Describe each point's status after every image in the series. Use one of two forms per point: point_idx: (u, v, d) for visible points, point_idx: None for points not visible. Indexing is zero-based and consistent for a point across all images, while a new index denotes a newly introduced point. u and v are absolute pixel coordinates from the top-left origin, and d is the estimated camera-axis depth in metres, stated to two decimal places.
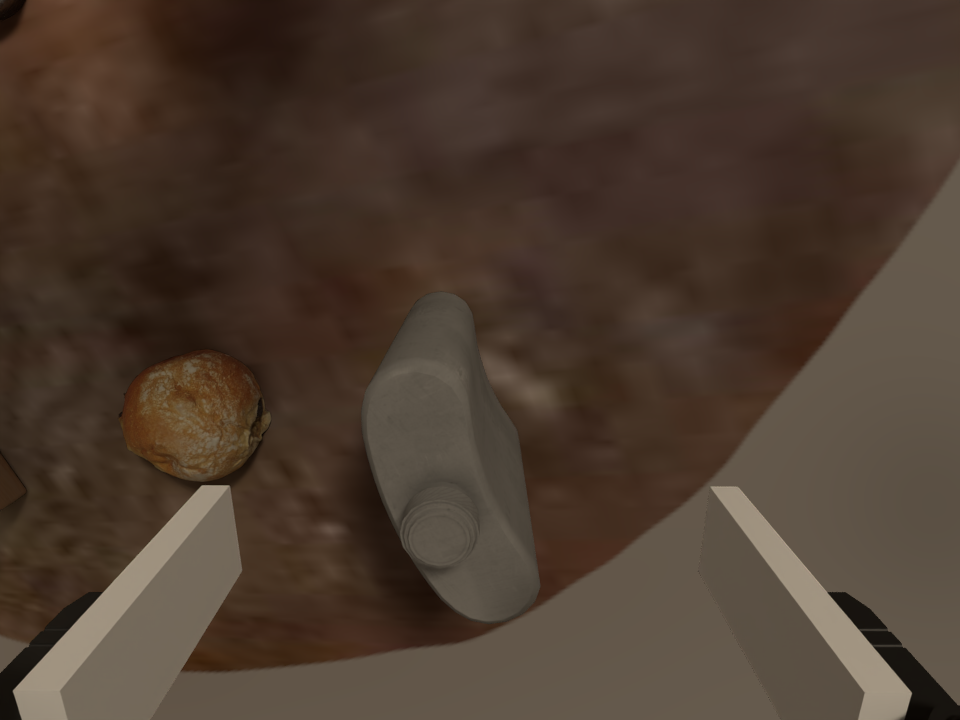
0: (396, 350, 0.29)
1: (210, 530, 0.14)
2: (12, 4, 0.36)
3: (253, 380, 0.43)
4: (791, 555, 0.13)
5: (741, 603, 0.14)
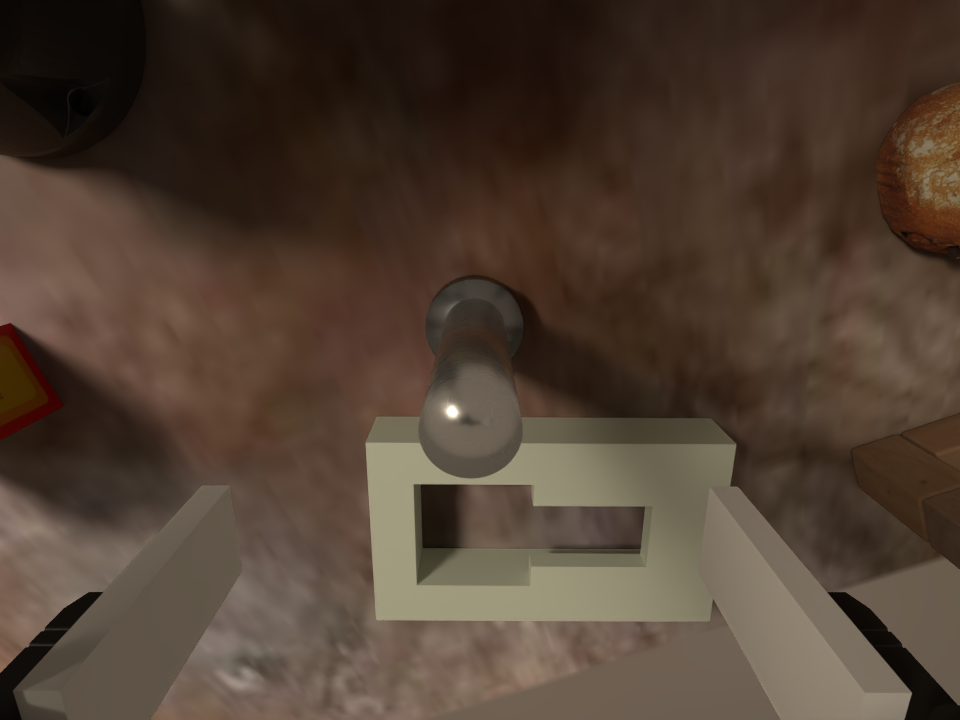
0: None
1: (210, 530, 0.14)
2: (511, 293, 0.38)
3: (937, 90, 0.34)
4: (791, 555, 0.13)
5: (740, 603, 0.14)
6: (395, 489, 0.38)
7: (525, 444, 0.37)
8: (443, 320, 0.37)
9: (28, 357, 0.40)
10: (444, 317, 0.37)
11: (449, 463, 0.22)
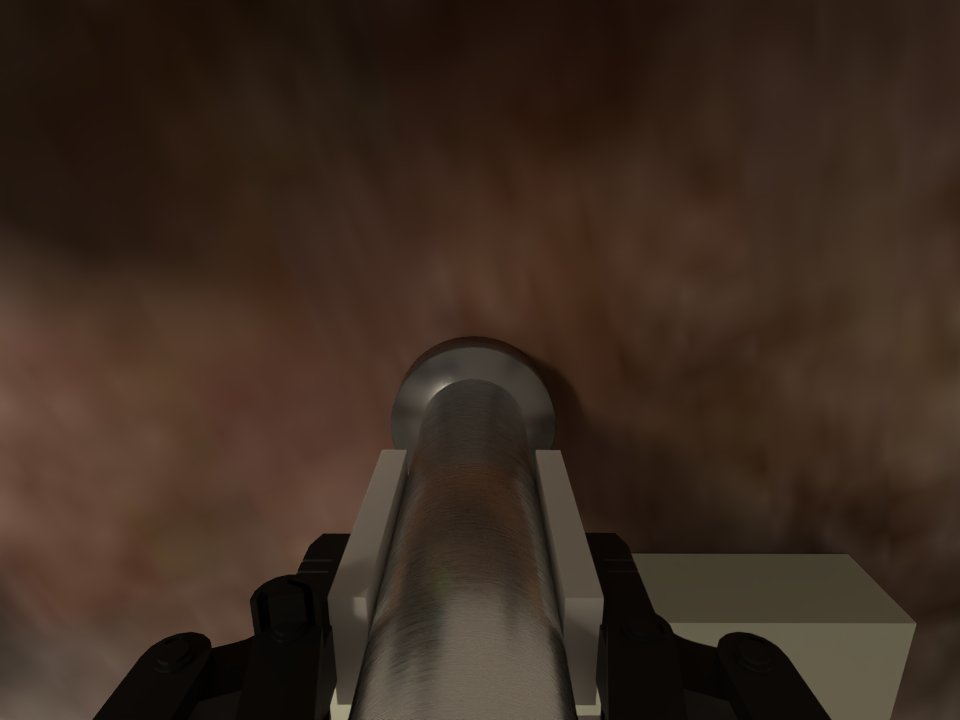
0: None
1: (401, 486, 0.16)
2: (534, 367, 0.23)
3: None
4: (571, 502, 0.15)
5: None
6: None
7: None
8: (421, 415, 0.22)
9: None
10: (422, 410, 0.22)
11: None
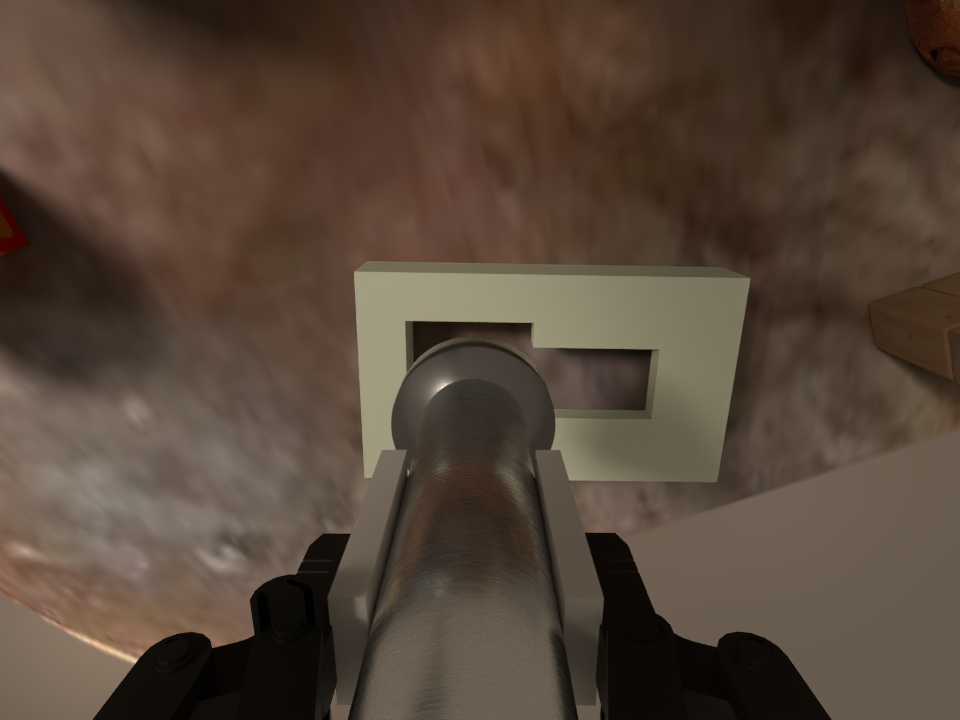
0: None
1: (401, 487, 0.16)
2: (534, 367, 0.23)
3: None
4: (571, 502, 0.15)
5: None
6: (386, 326, 0.36)
7: (525, 275, 0.35)
8: (421, 414, 0.22)
9: None
10: (422, 409, 0.22)
11: None
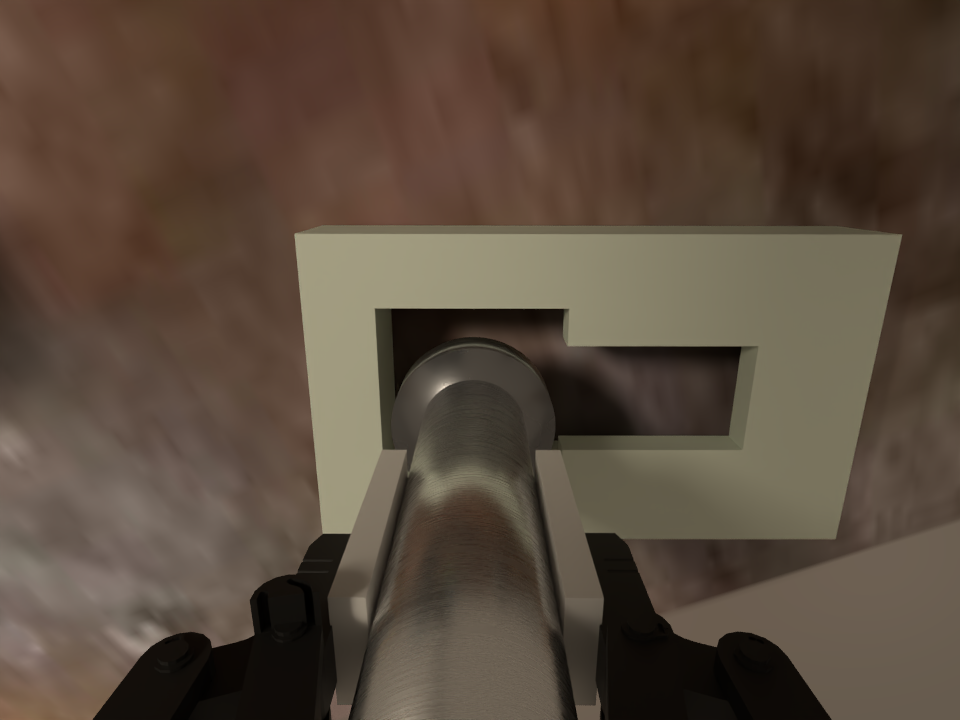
0: None
1: (401, 486, 0.16)
2: (534, 368, 0.23)
3: None
4: (571, 502, 0.15)
5: None
6: (346, 318, 0.24)
7: (556, 236, 0.23)
8: (421, 415, 0.22)
9: None
10: (422, 411, 0.22)
11: None
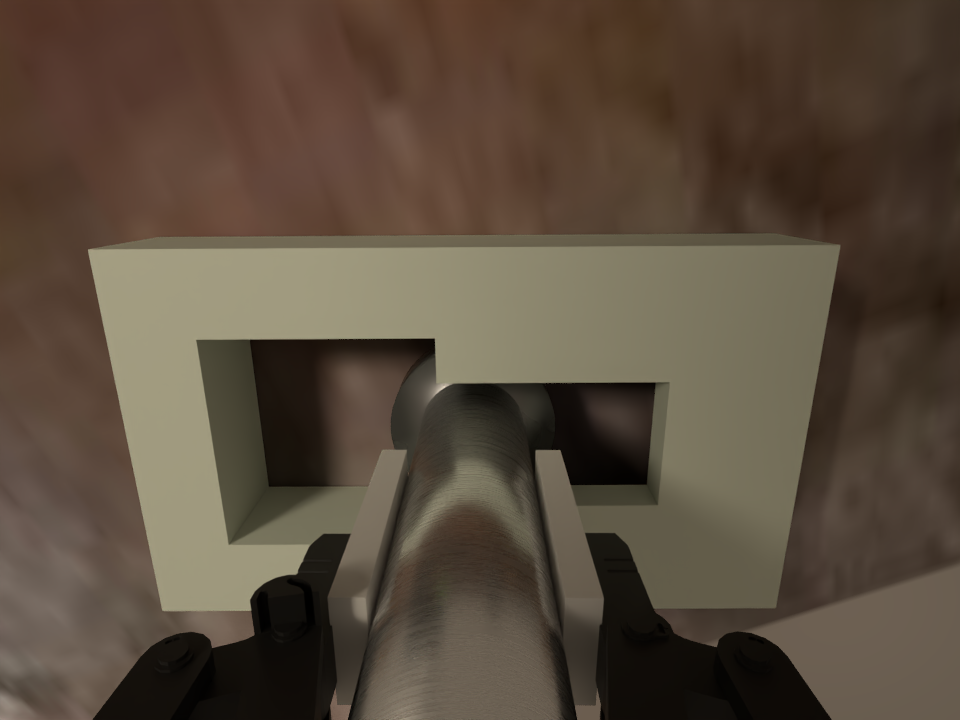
0: None
1: (401, 486, 0.16)
2: None
3: None
4: (571, 501, 0.15)
5: None
6: (162, 351, 0.19)
7: (411, 250, 0.18)
8: (420, 415, 0.22)
9: None
10: (422, 411, 0.22)
11: None
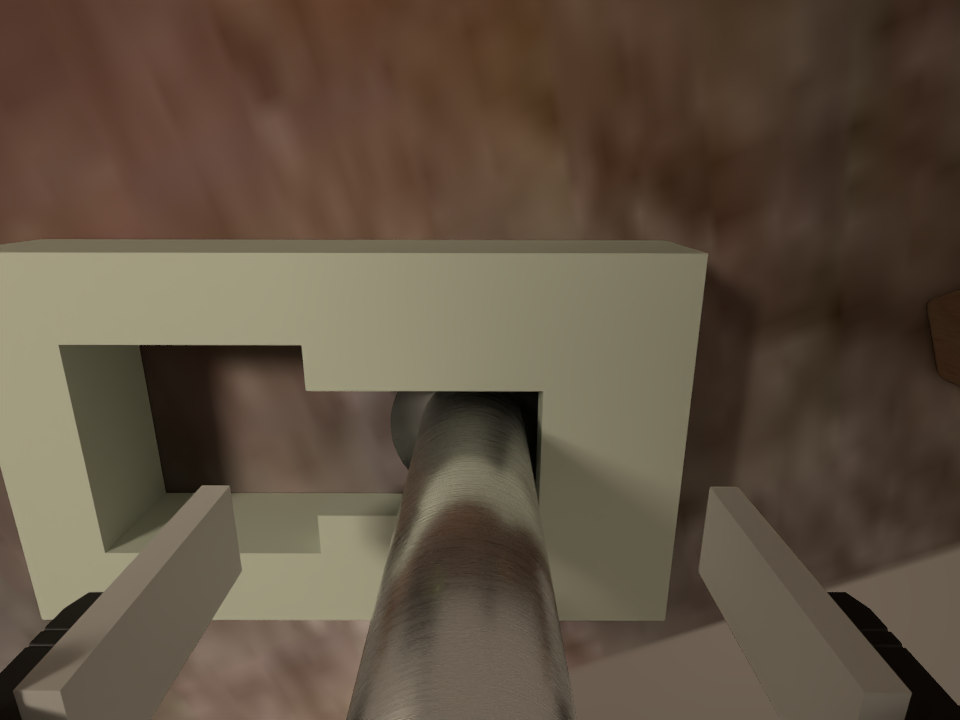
0: None
1: (210, 530, 0.14)
2: None
3: None
4: (791, 555, 0.13)
5: (740, 603, 0.14)
6: (25, 356, 0.19)
7: (271, 255, 0.18)
8: (420, 413, 0.22)
9: None
10: (422, 409, 0.22)
11: None
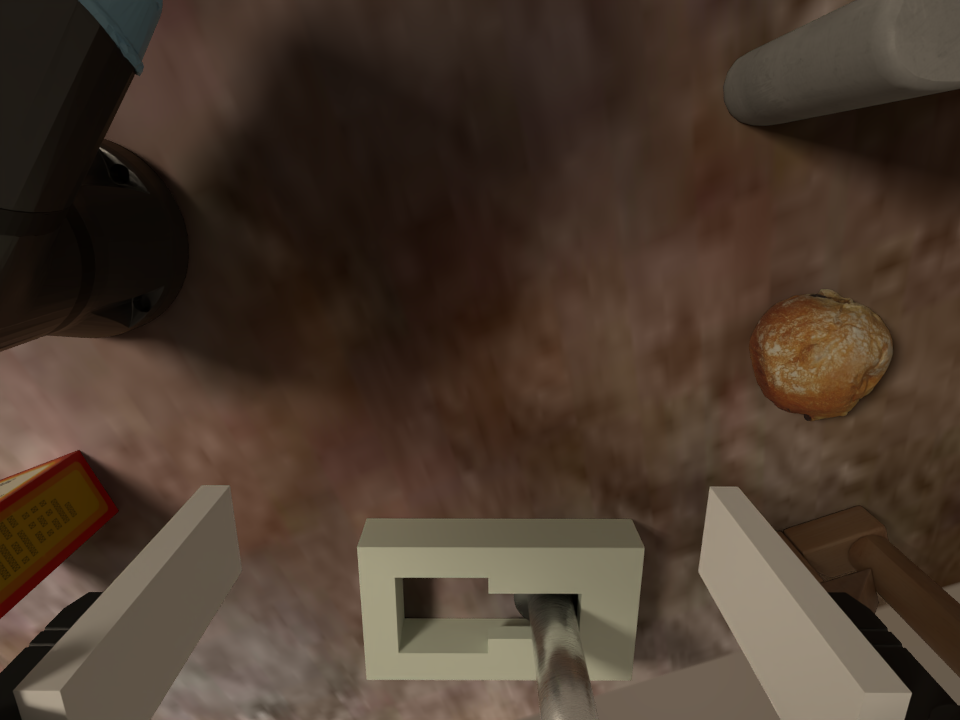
0: (843, 69, 0.28)
1: (210, 530, 0.14)
2: None
3: (788, 299, 0.45)
4: (791, 555, 0.13)
5: (740, 603, 0.14)
6: (380, 581, 0.49)
7: (480, 548, 0.48)
8: None
9: (93, 475, 0.51)
10: None
11: None
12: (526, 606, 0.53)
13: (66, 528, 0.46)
